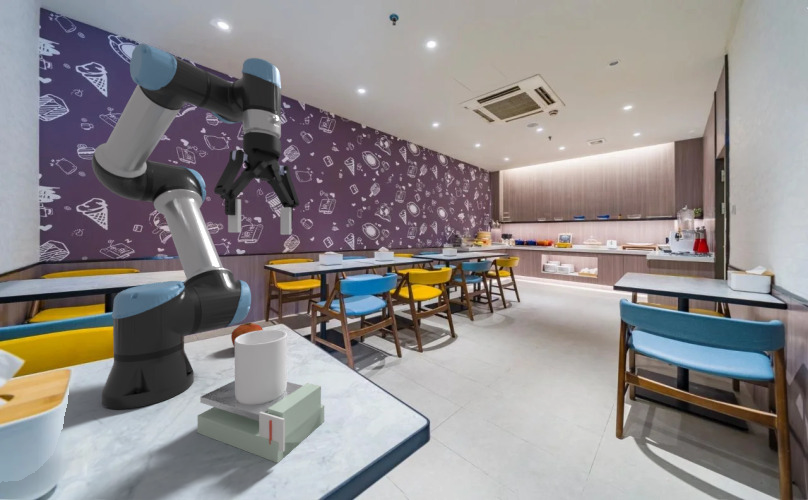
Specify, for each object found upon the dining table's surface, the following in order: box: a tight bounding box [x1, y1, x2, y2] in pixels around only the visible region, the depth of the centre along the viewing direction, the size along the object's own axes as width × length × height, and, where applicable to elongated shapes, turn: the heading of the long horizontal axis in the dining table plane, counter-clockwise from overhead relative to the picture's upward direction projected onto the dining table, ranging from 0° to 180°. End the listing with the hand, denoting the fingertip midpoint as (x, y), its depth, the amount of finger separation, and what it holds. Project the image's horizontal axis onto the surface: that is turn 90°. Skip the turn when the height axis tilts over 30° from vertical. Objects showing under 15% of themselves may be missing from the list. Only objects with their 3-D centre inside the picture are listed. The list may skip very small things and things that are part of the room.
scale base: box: [197, 382, 325, 464], centre depth 51 cm, size 19×11×7 cm, turn 68°
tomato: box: [231, 322, 264, 348], centre depth 90 cm, size 9×9×8 cm
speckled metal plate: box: [199, 380, 303, 421], centre depth 52 cm, size 14×10×3 cm
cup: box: [234, 329, 288, 405], centre depth 53 cm, size 8×12×10 cm
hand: (262, 233), depth 64 cm, fingers open, 13 cm apart
